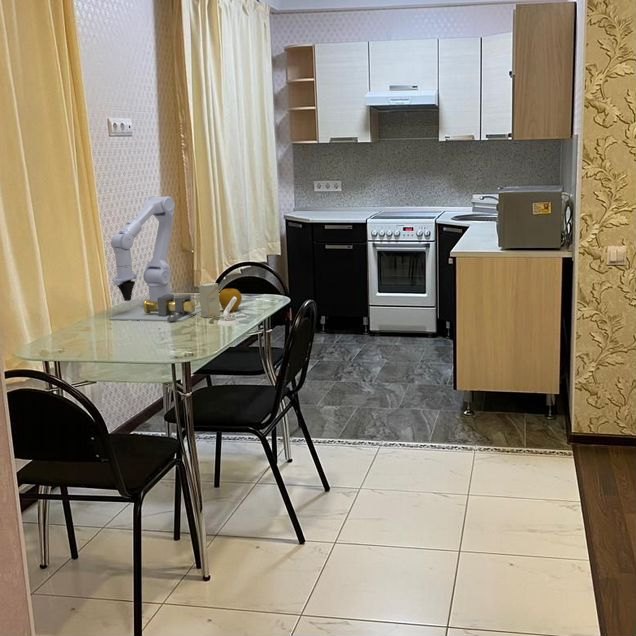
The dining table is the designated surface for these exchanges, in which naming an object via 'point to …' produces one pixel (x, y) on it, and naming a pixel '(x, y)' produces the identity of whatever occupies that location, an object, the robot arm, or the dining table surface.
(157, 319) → the mat
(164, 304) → the chain end
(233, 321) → the white lever switch
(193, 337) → the dining table surface
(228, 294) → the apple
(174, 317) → the chain end
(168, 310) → the pin
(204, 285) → the skincare box
